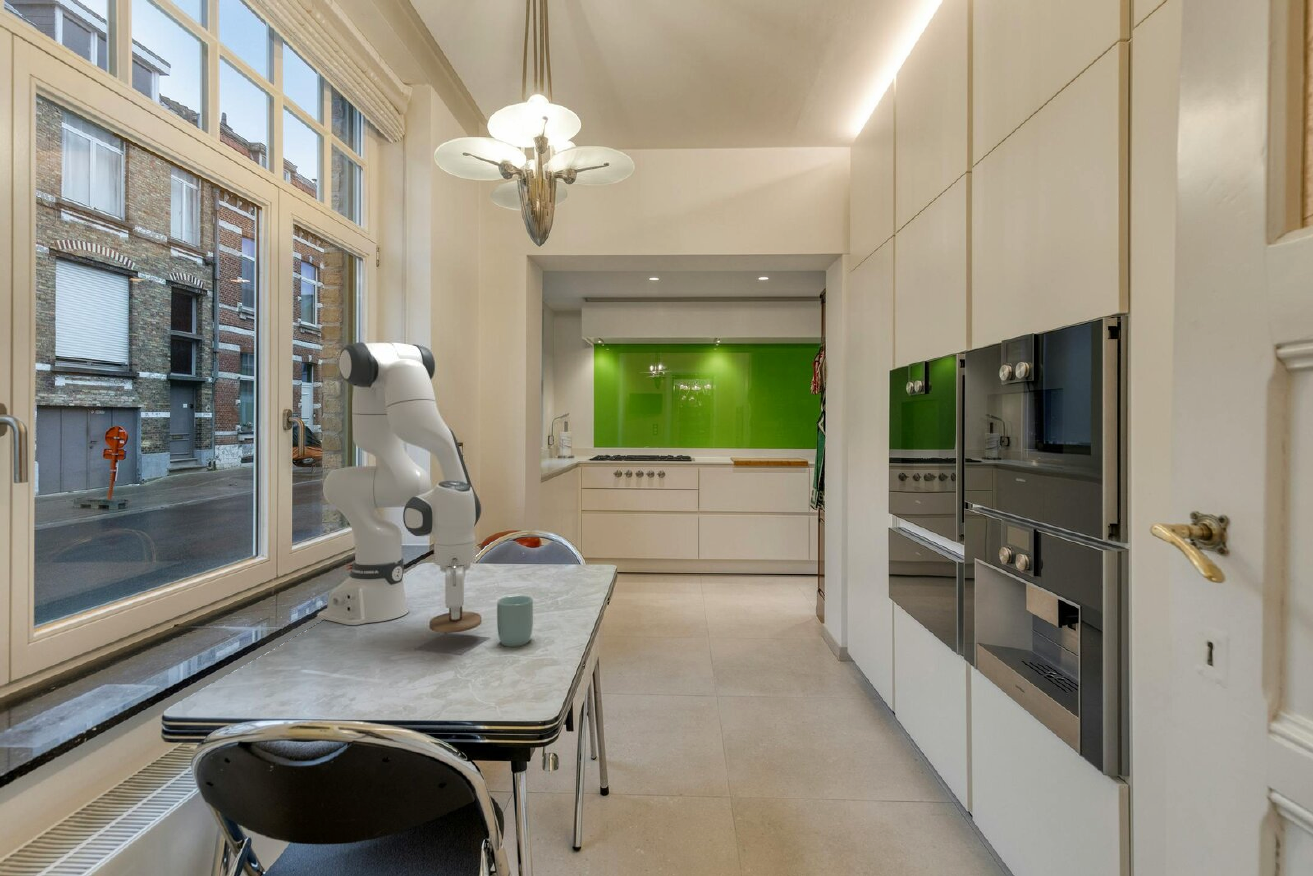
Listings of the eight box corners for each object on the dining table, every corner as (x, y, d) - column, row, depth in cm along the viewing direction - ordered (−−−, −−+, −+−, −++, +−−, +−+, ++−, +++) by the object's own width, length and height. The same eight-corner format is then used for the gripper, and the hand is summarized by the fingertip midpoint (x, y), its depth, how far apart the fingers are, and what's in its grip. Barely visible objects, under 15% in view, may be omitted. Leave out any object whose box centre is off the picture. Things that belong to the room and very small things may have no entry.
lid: (419, 626, 131) (419, 606, 131) (461, 612, 140) (460, 593, 140) (450, 636, 125) (449, 615, 124) (491, 621, 134) (491, 602, 133)
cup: (537, 639, 135) (537, 595, 135) (526, 651, 127) (526, 605, 127) (504, 638, 136) (504, 595, 136) (491, 650, 128) (491, 604, 128)
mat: (413, 652, 127) (413, 649, 127) (445, 635, 138) (445, 632, 138) (461, 657, 124) (461, 654, 124) (490, 640, 134) (490, 637, 134)
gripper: (470, 564, 123) (470, 629, 123) (469, 544, 142) (470, 601, 143) (438, 566, 121) (438, 633, 121) (442, 545, 140) (442, 603, 141)
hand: (455, 615), depth 132 cm, fingers closed on lid, 3 cm apart
